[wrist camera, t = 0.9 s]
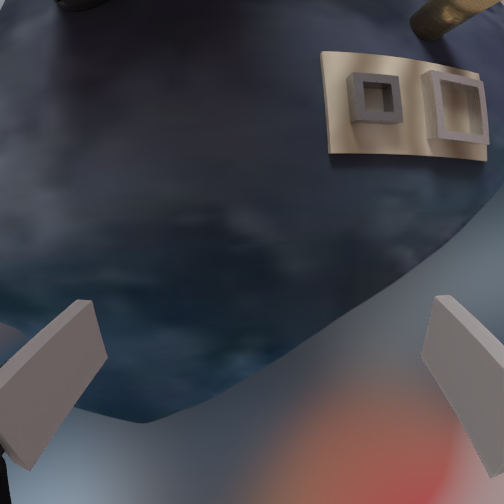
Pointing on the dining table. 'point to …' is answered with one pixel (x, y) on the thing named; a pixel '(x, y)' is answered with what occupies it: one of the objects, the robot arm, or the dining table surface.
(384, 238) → the dining table surface
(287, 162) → the dining table surface
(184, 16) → the dining table surface
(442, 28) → the brass cylinder
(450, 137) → the fitting board
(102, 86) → the dining table surface
